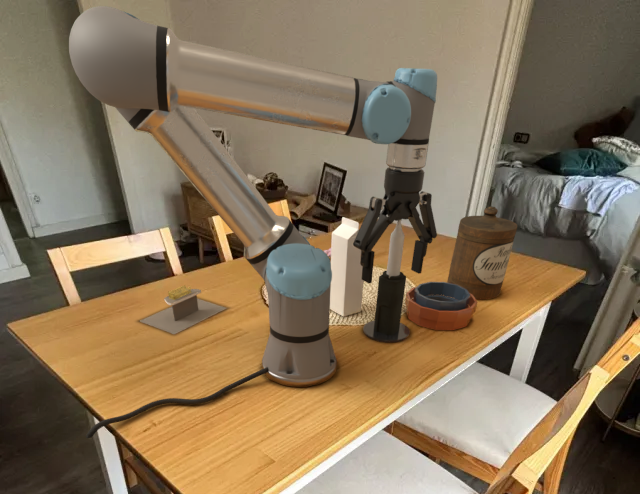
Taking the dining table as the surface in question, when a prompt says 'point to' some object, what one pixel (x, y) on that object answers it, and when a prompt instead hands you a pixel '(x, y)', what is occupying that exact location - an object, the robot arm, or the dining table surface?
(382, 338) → the slate coaster
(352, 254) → the milk
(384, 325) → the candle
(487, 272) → the wooden container
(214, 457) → the dining table surface
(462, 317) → the stacked bowls
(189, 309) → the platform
